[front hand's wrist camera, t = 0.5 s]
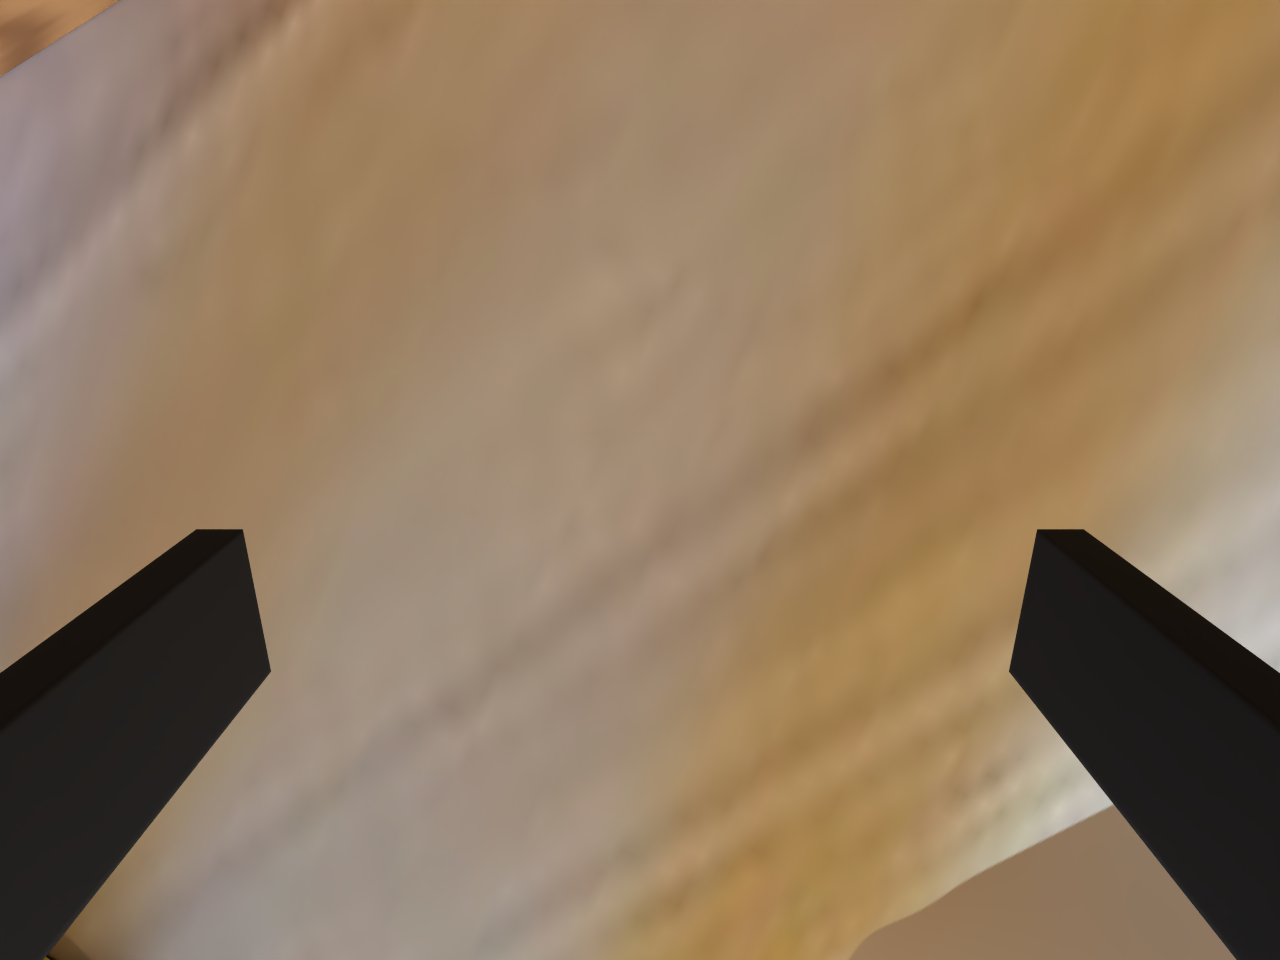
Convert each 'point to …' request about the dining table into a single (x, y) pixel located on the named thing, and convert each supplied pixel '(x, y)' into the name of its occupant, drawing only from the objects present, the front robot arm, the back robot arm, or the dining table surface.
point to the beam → (39, 25)
